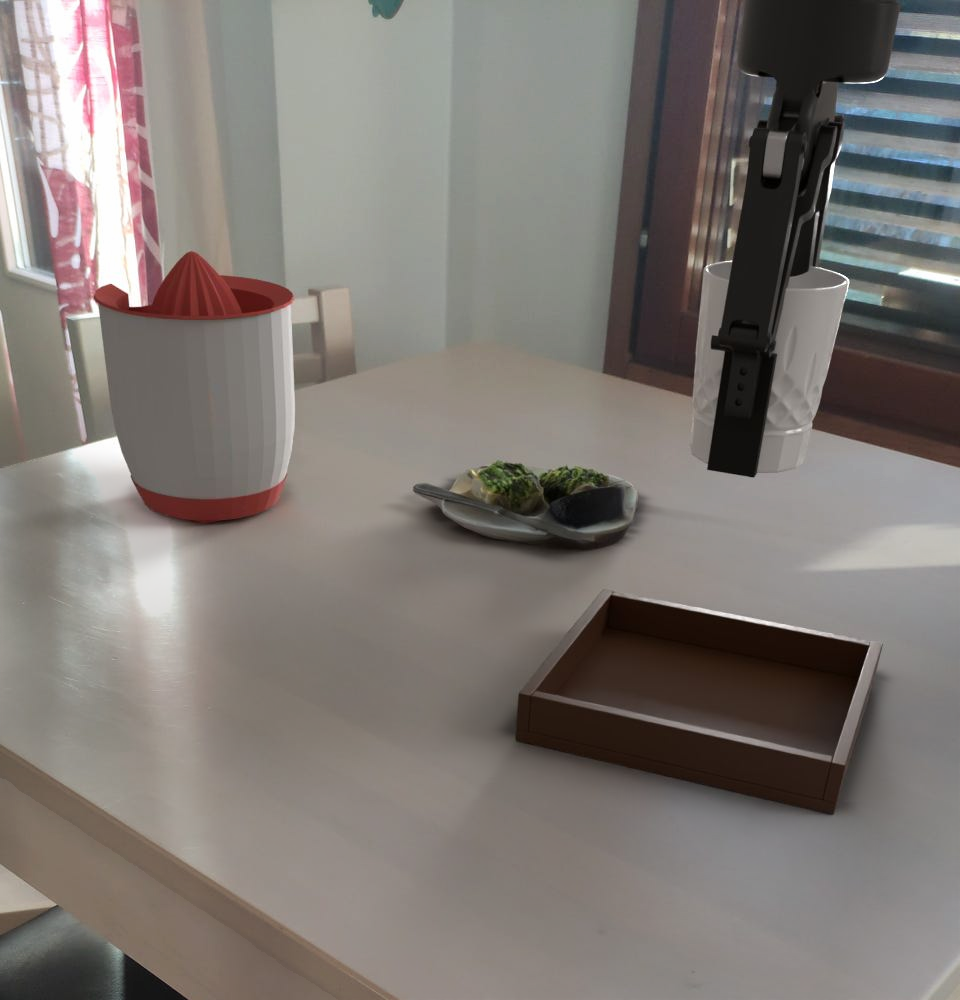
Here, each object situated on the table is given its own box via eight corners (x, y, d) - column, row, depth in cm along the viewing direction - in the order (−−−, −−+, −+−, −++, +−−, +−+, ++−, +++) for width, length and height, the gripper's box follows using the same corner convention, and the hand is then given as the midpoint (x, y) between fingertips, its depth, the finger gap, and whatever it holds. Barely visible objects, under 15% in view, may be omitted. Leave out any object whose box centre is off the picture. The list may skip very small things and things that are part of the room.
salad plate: (389, 539, 104) (389, 484, 102) (438, 472, 119) (439, 422, 116) (620, 566, 102) (627, 511, 99) (642, 495, 116) (648, 444, 113)
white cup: (701, 478, 71) (729, 288, 65) (664, 435, 77) (686, 258, 72) (833, 477, 72) (872, 290, 66) (786, 435, 78) (817, 261, 73)
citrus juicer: (212, 456, 120) (194, 224, 108) (339, 503, 111) (334, 255, 99) (70, 493, 110) (34, 242, 98) (196, 549, 101) (172, 279, 89)
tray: (872, 687, 86) (883, 643, 84) (833, 815, 72) (845, 766, 71) (598, 631, 91) (603, 588, 90) (514, 740, 78) (518, 693, 76)
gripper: (787, -18, 70) (723, 401, 83) (700, -24, 55) (638, 492, 68) (924, -10, 68) (837, 418, 81) (876, -15, 53) (777, 516, 66)
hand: (747, 451), depth 75 cm, fingers closed on white cup, 7 cm apart
